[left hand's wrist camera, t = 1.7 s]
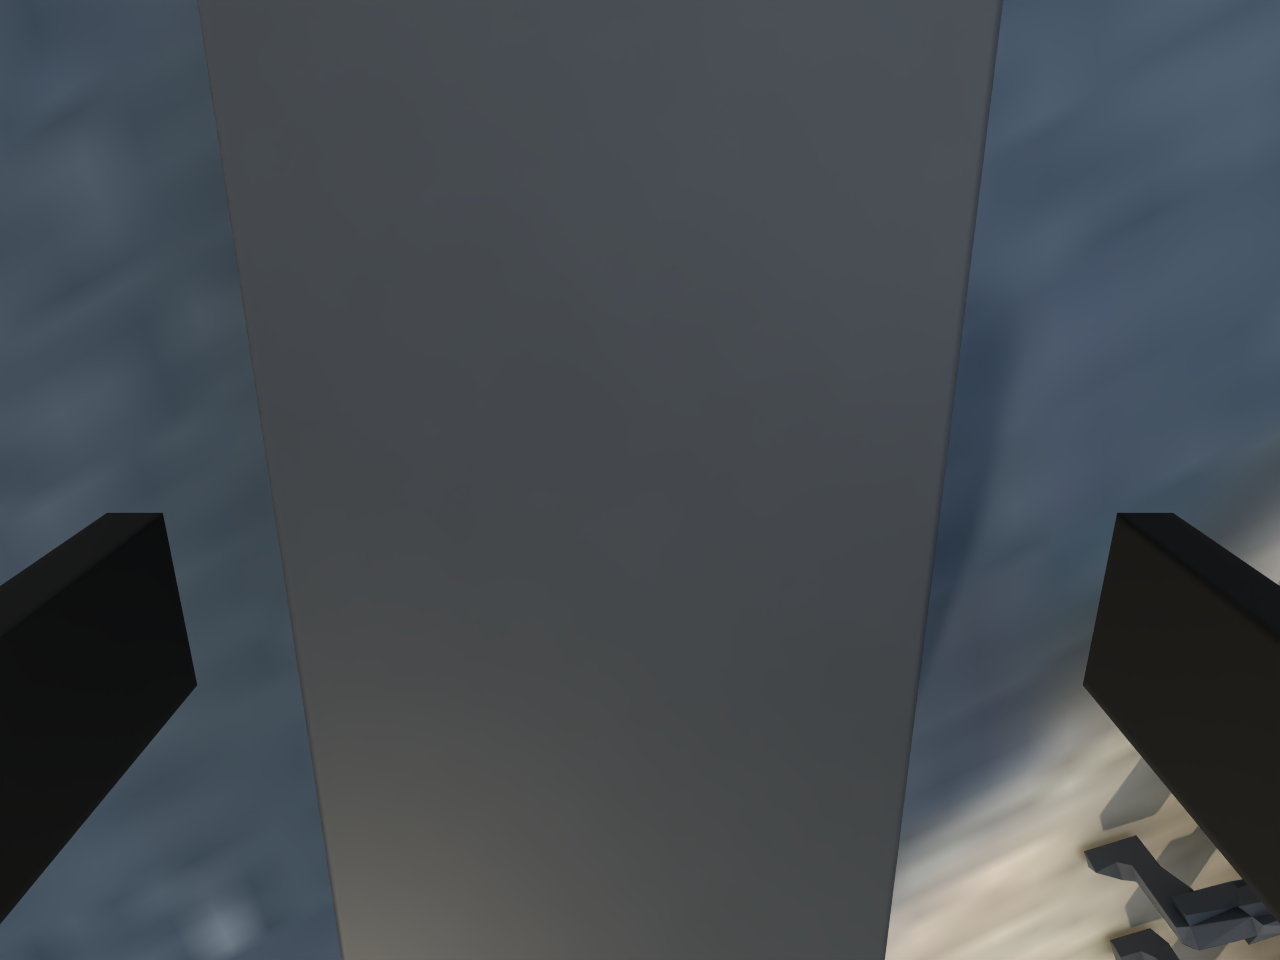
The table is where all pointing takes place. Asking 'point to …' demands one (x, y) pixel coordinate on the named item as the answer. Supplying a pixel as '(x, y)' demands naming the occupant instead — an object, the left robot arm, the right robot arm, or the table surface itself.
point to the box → (606, 448)
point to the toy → (1181, 905)
